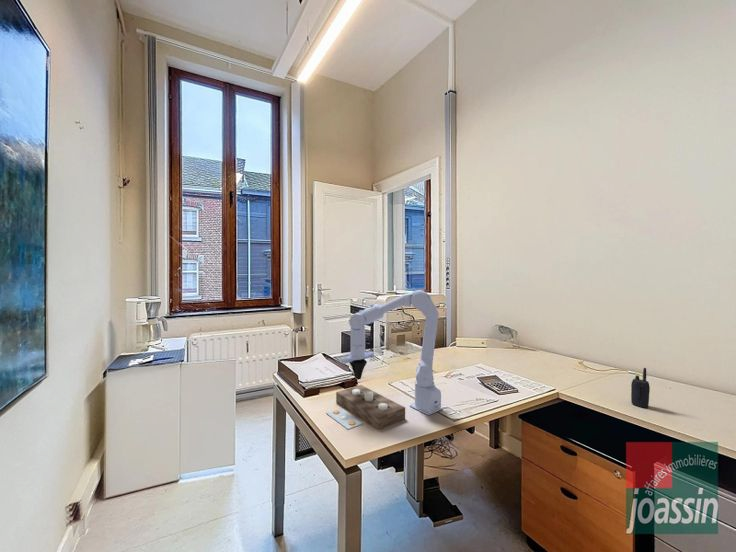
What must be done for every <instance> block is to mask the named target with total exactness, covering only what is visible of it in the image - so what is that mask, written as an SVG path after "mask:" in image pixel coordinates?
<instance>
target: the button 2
mask: <svg viewBox="0 0 736 552" xmlns="http://www.w3.org/2000/svg"><path fill="white" fill-rule="evenodd" d="M378 409H380V410H382V411H383V410H386V409H387V404H386V403H380V404H378Z"/></svg>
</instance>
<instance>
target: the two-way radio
mask: <svg viewBox="0 0 736 552" xmlns="http://www.w3.org/2000/svg"><path fill="white" fill-rule="evenodd" d="M630 388H631V390H630V391H631V392H630V393H631V394H630V398H631V399H630V400H631V401H630V402H631V404H632V405H634V406H637V407H640V408H643V409H647V408H648V407H649V403H650V391H651V390H650V389H651V387H650V382H649V381H647V368H646V367H643V371H642V379H640V376H639V375H637V374H635V377H634V378H633V379H632V381H631V387H630Z"/></svg>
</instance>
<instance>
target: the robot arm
mask: <svg viewBox="0 0 736 552" xmlns="http://www.w3.org/2000/svg"><path fill="white" fill-rule="evenodd" d="M403 306H404V307H411V306H412V307H414V309H416V310H418V311H420V312H421V314H422V315H423V316H424V317H425V320H424V322H425V323H424V328H423V329H424V331H423V338H422V346H421V354H420V360H419V363H418V365H417V367H416V376H415V381H414V403H412V404H409V407H411V408H413V409H415V410H416V411H419V412H421V413H423V414H425V415H427V416H430V415H433V414H435V413H438V412H439V410H440V411H441V409H442V410H443V407H442V393H441V390H440V389H439V388H438V387H437V386H436V385H435V381H434V380H435V379H434V371H433V362H434V354H435V353H434V352H435V346H436V338H437V332H438V331H437V330H438V323H439V311H438V309H437V307H436V305H435V303H434V301H433V299H432V296H430V295H429V294H428V293H427V292H426V291H425V290H423V289H417V290H414V291H411V292H407V293H405V294H402V295H399V296H398V297H395V298H394V299H392V300H390V301H388V302H385V303H383V304H381V305H380V304H377V303H375V304H374V303H371V304H370V305H369V307H367V308H365V309H360V310H359V311H358V312H355V313H354V314H353V315H352V316H350V318H349V320H348V324H349V326H350V353H349V355H346V356H344V357H341V358H340V363H341V364H342V365H346V364H349V365H350V366H351V369H352V371H353V375H354V379H356V380H358V381H359V380H361V379H362V376H363V372H364V370H365V367H366V365H367V363H368V362H367V359H370V358H375V353H374V351H366V330H365V329H366V326H365V325H369V324H372V323H374V322H376V321H378V320H381V319H383V318H384V315H385V313H388V312H391V311H392V310H393V311H394V310H395V309H398V308H400V307H403Z"/></svg>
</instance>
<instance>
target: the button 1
mask: <svg viewBox="0 0 736 552" xmlns="http://www.w3.org/2000/svg"><path fill="white" fill-rule="evenodd" d="M352 394H354V395H358V394H360V390H359V389H353V390H352Z"/></svg>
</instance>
